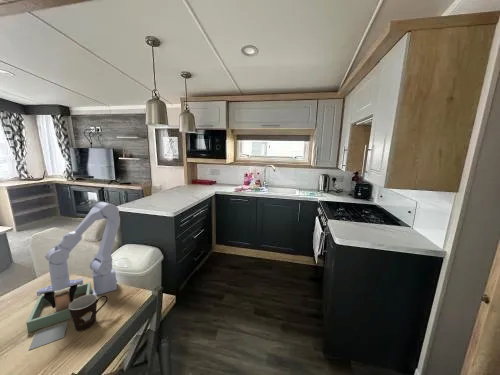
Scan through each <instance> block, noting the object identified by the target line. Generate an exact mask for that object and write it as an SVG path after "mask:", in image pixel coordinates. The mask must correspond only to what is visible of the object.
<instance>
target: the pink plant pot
mask: <svg viewBox="0 0 500 375" xmlns="http://www.w3.org/2000/svg"><path fill="white" fill-rule="evenodd" d="M62 290H63V289H62ZM59 291H60V290H59ZM54 301H55V308H54V309H55V312H59V311H62V310H65V309H68V308H69V304H70V303H71V297H70V292H69V290H63V291H60V292H58V293H56V294H55V295H54Z"/></svg>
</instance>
